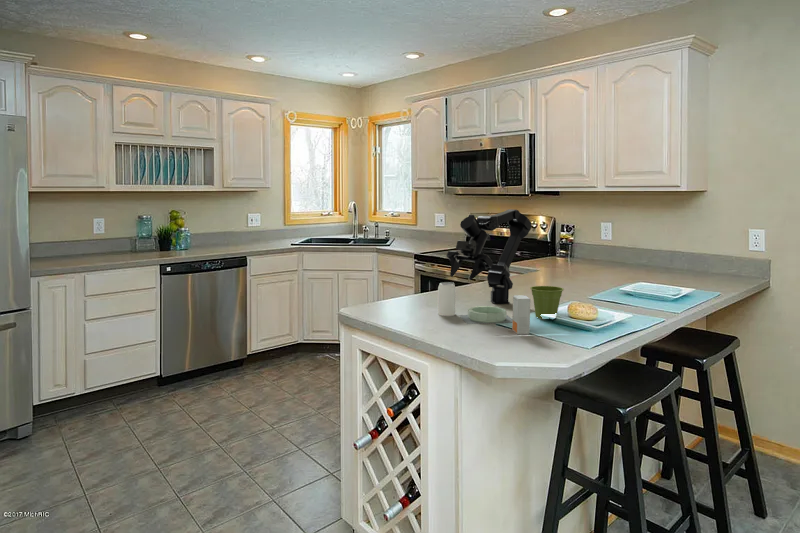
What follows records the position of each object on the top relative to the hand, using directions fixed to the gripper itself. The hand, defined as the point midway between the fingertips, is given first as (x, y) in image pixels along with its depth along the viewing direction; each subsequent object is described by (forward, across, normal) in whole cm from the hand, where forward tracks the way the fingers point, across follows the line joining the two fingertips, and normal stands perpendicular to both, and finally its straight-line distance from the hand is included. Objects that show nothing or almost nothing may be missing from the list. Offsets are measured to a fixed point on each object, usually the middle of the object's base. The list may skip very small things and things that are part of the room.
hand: (460, 277), depth 210 cm
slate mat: (+12, +15, +6) cm, 20 cm away
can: (+15, 0, +2) cm, 16 cm away
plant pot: (+2, +28, +20) cm, 35 cm away
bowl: (+12, +15, +6) cm, 20 cm away
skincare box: (+17, +34, 0) cm, 38 cm away
